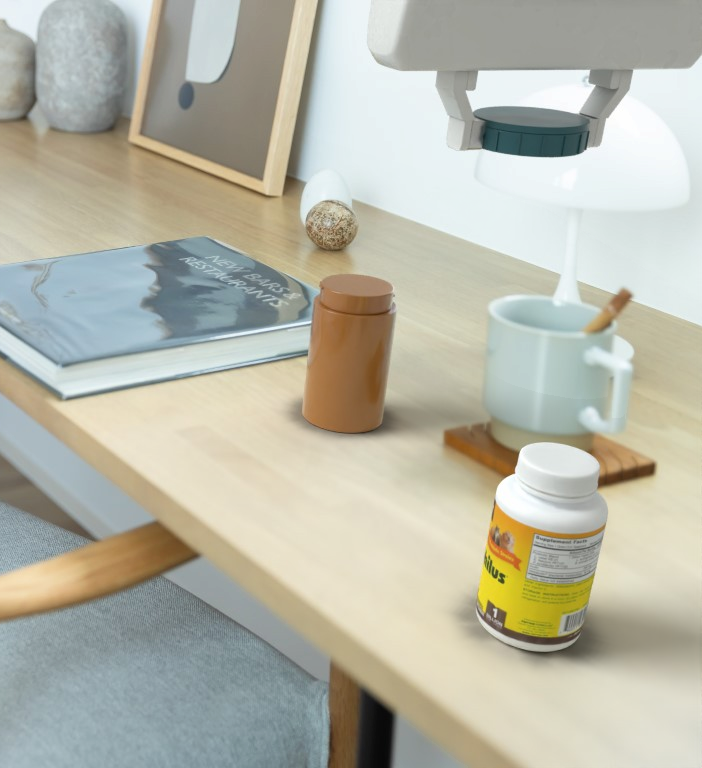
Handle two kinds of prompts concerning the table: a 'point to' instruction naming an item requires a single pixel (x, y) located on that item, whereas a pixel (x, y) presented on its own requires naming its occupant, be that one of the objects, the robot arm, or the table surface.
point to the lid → (534, 131)
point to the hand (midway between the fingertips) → (522, 147)
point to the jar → (349, 353)
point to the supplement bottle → (542, 548)
